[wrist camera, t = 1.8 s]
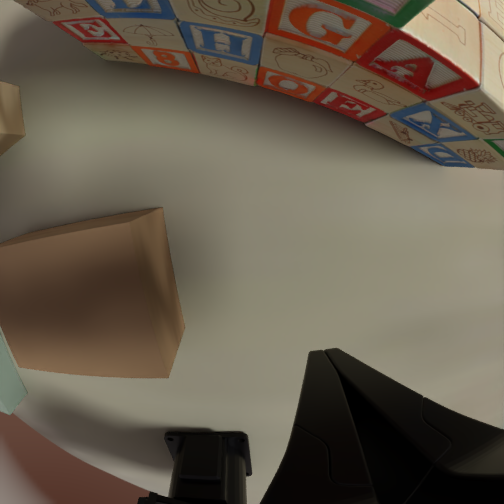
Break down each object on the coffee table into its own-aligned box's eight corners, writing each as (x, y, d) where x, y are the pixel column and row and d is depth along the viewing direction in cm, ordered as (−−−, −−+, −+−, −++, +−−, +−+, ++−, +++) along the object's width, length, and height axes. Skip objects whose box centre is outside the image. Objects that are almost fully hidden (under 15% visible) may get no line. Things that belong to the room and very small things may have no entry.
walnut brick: (185, 325, 17) (168, 378, 12) (56, 329, 17) (18, 367, 12) (163, 206, 15) (129, 222, 10) (28, 232, 15) (-22, 252, 10)
